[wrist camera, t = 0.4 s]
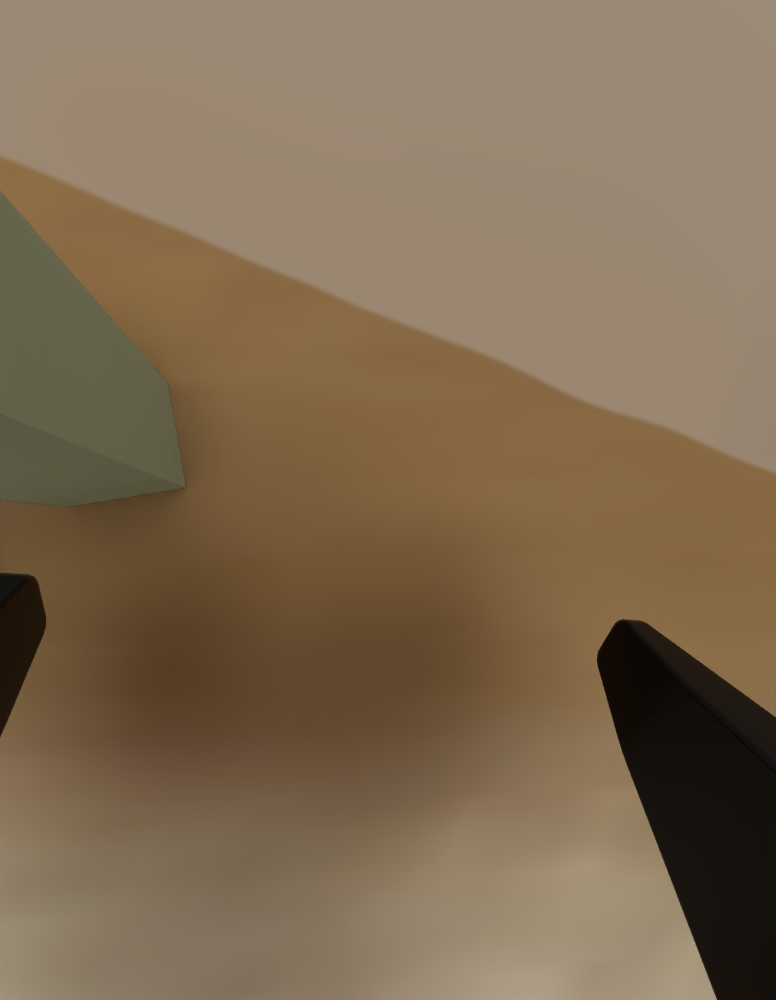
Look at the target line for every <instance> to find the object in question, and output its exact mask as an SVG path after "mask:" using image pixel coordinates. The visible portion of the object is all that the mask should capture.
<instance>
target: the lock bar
mask: <svg viewBox="0 0 776 1000" xmlns="http://www.w3.org/2000/svg"><path fill="white" fill-rule="evenodd" d="M183 488H186V484H185V478H184V473H183V467H182V461H181V455H180V450H179V444H178V438H177V433H176V427H175V421H174V415H173V410H172V404H171V398H170V393H169V387H168V383H167V382H166V380H165V379H164V378H163V377H162V376H161V375H160V373H159V372H158V371H157V370H156V369H155V368H154V367H153V365H152V364H151V363H150V362H149V361H148V360H147V359H146V357H145V356H144V355H143V354H142V353H141V352H140V350H139V349H138V348H137V347H136V346H135V345H134V344H133V342H132V341H131V340H130V339H129V338H128V337H127V336H126V334H125V333H124V332H123V331H122V330H121V329H120V327H119V326H118V325H117V324H116V323H115V322H114V321H113V319H112V318H111V317H110V316H109V315H108V314H107V313H106V311H105V310H104V309H103V308H102V307H101V306H100V304H99V303H98V302H97V301H96V300H95V299H94V298H93V296H92V295H91V294H90V293H89V292H88V291H87V290H86V288H85V287H84V286H83V285H82V284H81V283H80V282H79V280H78V279H77V278H76V277H75V276H74V275H73V273H72V272H71V271H70V270H69V269H68V268H67V267H66V265H65V264H64V263H63V262H62V261H61V260H60V259H59V257H58V256H57V255H56V254H55V253H54V252H53V250H52V249H51V248H50V247H49V246H48V245H47V244H46V242H45V241H44V240H43V239H42V238H41V237H40V236H39V234H38V233H37V232H36V231H35V230H34V229H33V227H32V226H31V225H30V224H29V223H28V222H27V221H26V219H25V218H24V217H23V216H22V215H21V214H20V213H19V211H18V210H17V209H16V208H15V207H14V206H13V204H12V203H11V202H10V201H9V200H8V199H7V198H6V196H5V195H4V194H3V193H2V192H1V191H0V499H1V500H10V501H19V502H28V503H37V504H46V505H55V506H64V507H73V506H79V505H85V504H91V503H97V502H103V501H109V500H115V499H122V498H128V497H134V496H140V495H146V494H152V493H158V492H164V491H170V490H176V489H183Z"/></svg>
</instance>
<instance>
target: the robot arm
mask: <svg viewBox="0 0 776 1000" xmlns="http://www.w3.org/2000/svg"><path fill="white" fill-rule="evenodd" d="M45 627H46V614H45V610H44V605H43V601H42V597H41V593H40V588H39V584H38V582H37V580H36V578H35V577H34V576H31V575H27V574H13V573H0V737H1V734H2V732H3V730H4V728H5V725H6V723H7V721H8V718H9V716H10V714H11V711H12V709H13V706H14V704H15V702H16V699H17V697H18V694H19V692H20V690H21V687H22V685H23V682H24V680H25V678H26V675H27V673H28V670H29V668H30V666H31V663H32V661H33V658H34V656H35V654H36V651H37V649H38V646H39V644H40V642H41V639H42V637H43V634H44V631H45ZM597 664H598V669H599V672H600V676H601V679H602V683H603V686H604V690H605V694H606V697H607V701H608V704H609V708H610V711H611V715H612V718H613V722H614V726H615V729H616V733H617V736H618V740H619V743H620V746H621V749H622V753H623V755H624V758H625V761H626V764H627V766H628V769H629V772H630V774H631V777H632V780H633V782H634V785H635V787H636V790H637V793H638V795H639V798H640V800H641V803H642V806H643V808H644V811H645V813H646V816H647V819H648V821H649V824H650V826H651V829H652V832H653V834H654V837H655V840H656V842H657V845H658V847H659V850H660V853H661V855H662V858H663V860H664V863H665V866H666V868H667V871H668V873H669V876H670V879H671V881H672V884H673V886H674V889H675V892H676V894H677V897H678V899H679V902H680V905H681V907H682V910H683V912H684V915H685V918H686V920H687V923H688V926H689V928H690V931H691V933H692V936H693V939H694V941H695V944H696V946H697V949H698V952H699V954H700V957H701V959H702V962H703V965H704V967H705V970H706V972H707V975H708V978H709V980H710V983H711V985H712V988H713V991H714V993H715V996H716V999H717V1000H776V717H775V716H773V715H772V714H770V713H769V712H768V711H766V710H765V709H764V708H762V707H761V706H760V705H758V704H757V703H755V702H754V701H753V700H751V699H750V698H749V697H747V696H746V695H744V694H743V693H742V692H740V691H739V690H738V689H736V688H735V687H733V686H732V685H731V684H729V683H728V682H727V681H725V680H724V679H722V678H721V677H720V676H718V675H717V674H716V673H714V672H713V671H712V670H710V669H709V668H707V667H706V666H705V665H703V664H702V663H701V662H699V661H698V660H696V659H695V658H694V657H692V656H691V655H690V654H688V653H687V652H685V651H684V650H683V649H681V648H680V647H679V646H677V645H676V644H675V643H673V642H672V641H670V640H669V639H668V638H666V637H665V636H664V635H662V634H661V633H659V632H658V631H657V630H655V629H654V628H653V627H651V626H650V625H648V624H647V623H645V622H643V621H638V620H625V619H623V620H619V621H618V622H616V623H615V624H614V626H613V627H612V629H611V631H610V632H609V634H608V636H607V637H606V639H605V641H604V642H603V644H602V645H601V647H600V649H599V651H598V654H597Z"/></svg>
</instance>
